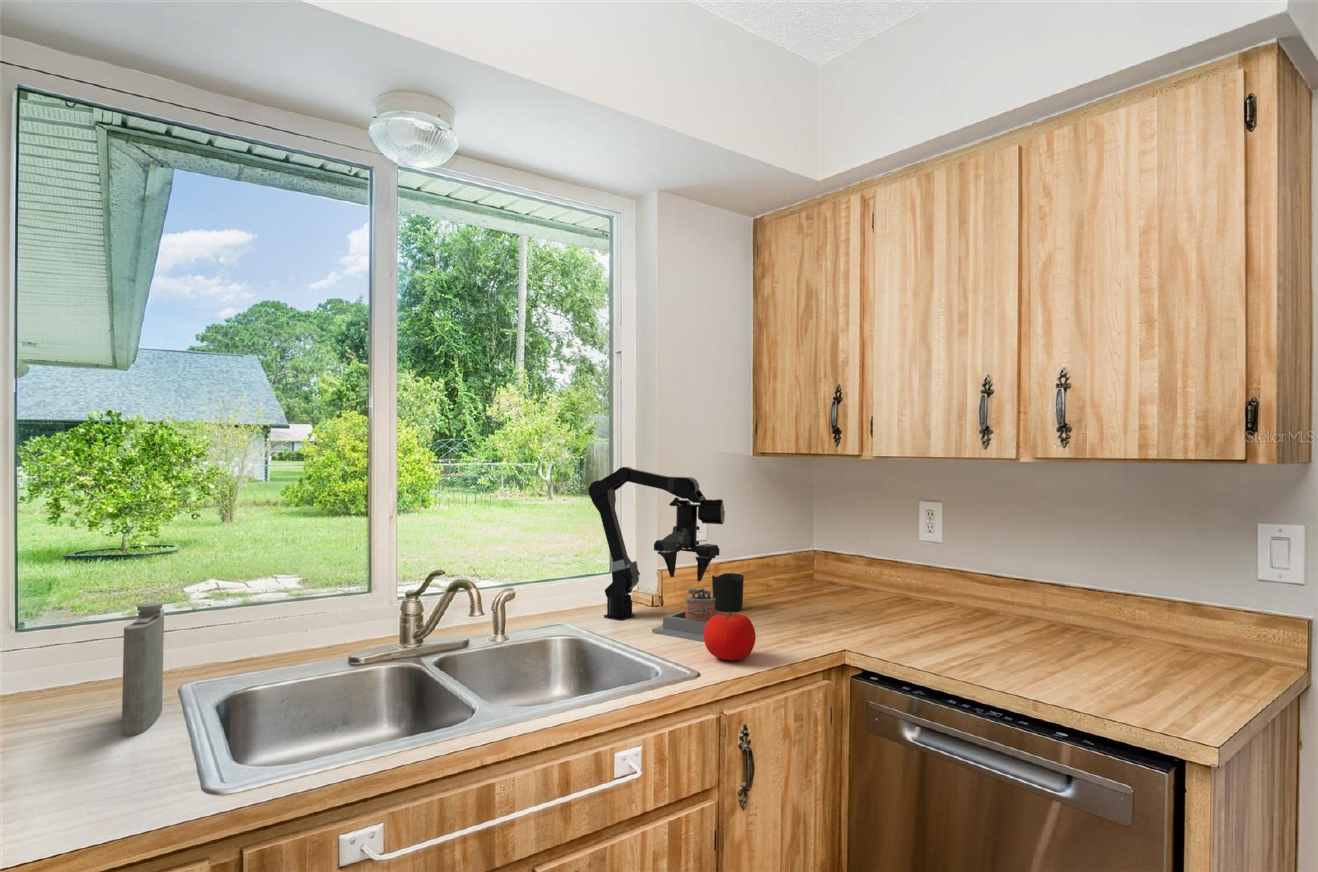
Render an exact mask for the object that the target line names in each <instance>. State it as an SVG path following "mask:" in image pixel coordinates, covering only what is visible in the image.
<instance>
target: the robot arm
mask: <svg viewBox="0 0 1318 872" xmlns="http://www.w3.org/2000/svg"><path fill="white" fill-rule="evenodd" d="M627 482H628V483H633V484H636V485H637V484H638V485H642V486H645V487H649V488H650V487H651V488H655V489H659V490H664V491H665V492H667V493H669V494H671V495H674V496H675V497H674V499H673V500H672V501H671V502H670V503H669V506H670V507H676V521H675V522H676V523H675V524H676V525H675V526H673V527H672V532H671V533H670V534H668V535H666V536H665V537H664V538H662V539H656V540H655V542H654V543H653V550H654V552H655V551H656V552H657V554H658V555H660V556H661V557H662V558H663V559H664V561H665V564H666V568H667V570H668V574H669V577H670V578H674V577H675V572H676V566H677V565H676V563H677V555H678V553H679V552H680V551H681V552H689V553H695V554H696V555H697V556H695V561H696V562H697V567H696V568H697V569H696V570H697V571H696V575H697V576H696V577H697V582H701V581H702V580H703V577H704V575H705V573H706V571H707V569H708V566H709V565H710V564H711V562H712V560H713V559H715V558H716V557H717V556H720V548H719V546H718V545H717V544H711V543H703V544H700V541H699V540H697V535H698V533H697V532H698V531H700V526H699V525H698V520H699V521H701V523H702V524H707V525H709V524H710V525H724V524H725V514H726V511H725V506H724V500H723V499H722V498H721V499H720V498H719V499H718V498H717V499H707V498H706V497H705V496H704V494H703V493H702V491H701V489H700V483H699V481H697V479H696V478H694V477H692V476H691V477H690V476H687V477H686V476H667V475H663V474H658V473H654V472H649V471H644V470H639V469H635V468H632V467H630V466H621V467H619V468H618V469H617V470H615V471H614V472H613V473H611V474H609V475H608V476H605V477H604V478H602V479H600V480H595V481H592V483H590V484H589V487H588V490H587V491H588V495H589V498H590V499H591V502H592V504H593V505H594V507H595V509H597V511H598V513H599V515H600V519H601V523H602V527H603V530H604V534H605V538H606V541H607V545H608V549H609V553H610V556H611V559H612V560H611V561H612V563H611V564H612V565H611V566H612V567H611V578H612V579H611V580H612V582H611V583H610V584H609V585H608V586H607V587H606V588H605V589H604V593H605V597H606V598H607V599H606V605H607V606H606V609H607V611H606V612H607V613H606V614H604V615H603V618H606V619H612V620H619V621H623V620H626V619H629V618H632V617H635V614H634V613H633V601H632V595H630V594H631V593H632V592H633V589H634V588H635V587H636V586H637V585H638V583H639V581H640V577H639V576H640V575H641V573H640V570H639V569H638V562H637V561H636V560H634V561H633V562H632V561H631V559H630V558H629V555H628V552H627V549H626V548H627V547H626V545H625V541H624V538H623V535H622V530H621V526H620V523H619V519H618V516H617V512H616V500H617V499H616V498H617V497H616V491H617V490H619V489H621V487H623V486H624V485H625V484H626V483H627ZM686 499H687V500H686Z"/></svg>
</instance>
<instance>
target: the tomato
mask: <svg viewBox="0 0 1318 872" xmlns="http://www.w3.org/2000/svg"><path fill="white" fill-rule="evenodd" d="M703 635H704V642H703V643H704V644H705V648H706V650H707V651H708V653H710V654H711V655H712V656H714V657H715V658H717V659H720V660H725V661H741V660H743V659H744V660H745V659H746V658H747V657H749V655H750V654H751V653H752V652H753V649H754V647H755V644H756V639H757V637H756V630H755V626H754V624H753V622H752V620H751V618H749V617H748V616H746V615H744V614H742V613H740V612H739V613H737V612H726V613H720V614H716V615H714V616H713V617H711V618H710V619H709V621H708V622H707V624H706V626H705V628H704V634H703Z"/></svg>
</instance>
